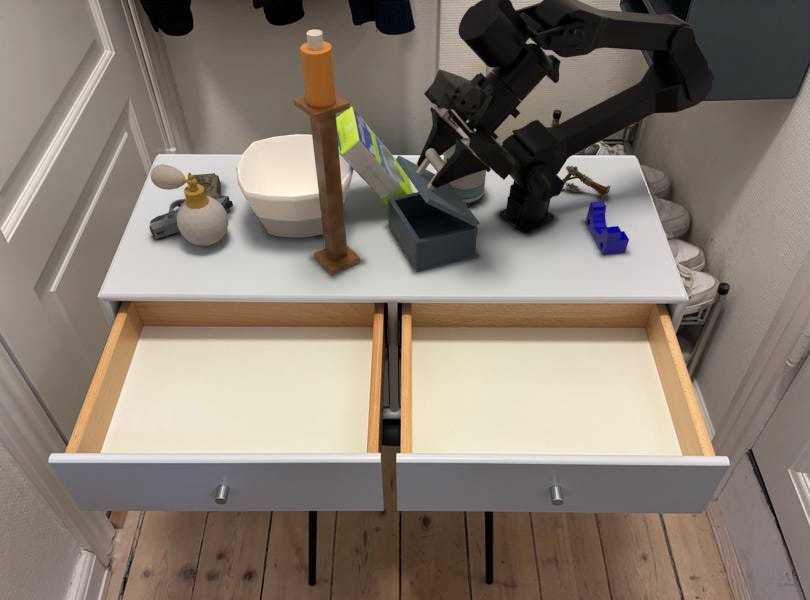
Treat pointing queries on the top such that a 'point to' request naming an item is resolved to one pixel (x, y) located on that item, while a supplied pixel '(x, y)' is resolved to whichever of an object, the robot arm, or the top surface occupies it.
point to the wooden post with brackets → (586, 180)
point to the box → (370, 157)
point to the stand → (329, 184)
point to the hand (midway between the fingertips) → (426, 175)
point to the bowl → (285, 184)
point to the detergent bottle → (318, 70)
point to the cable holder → (605, 230)
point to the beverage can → (467, 177)
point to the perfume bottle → (193, 207)
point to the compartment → (429, 232)
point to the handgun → (168, 221)
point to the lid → (440, 196)
